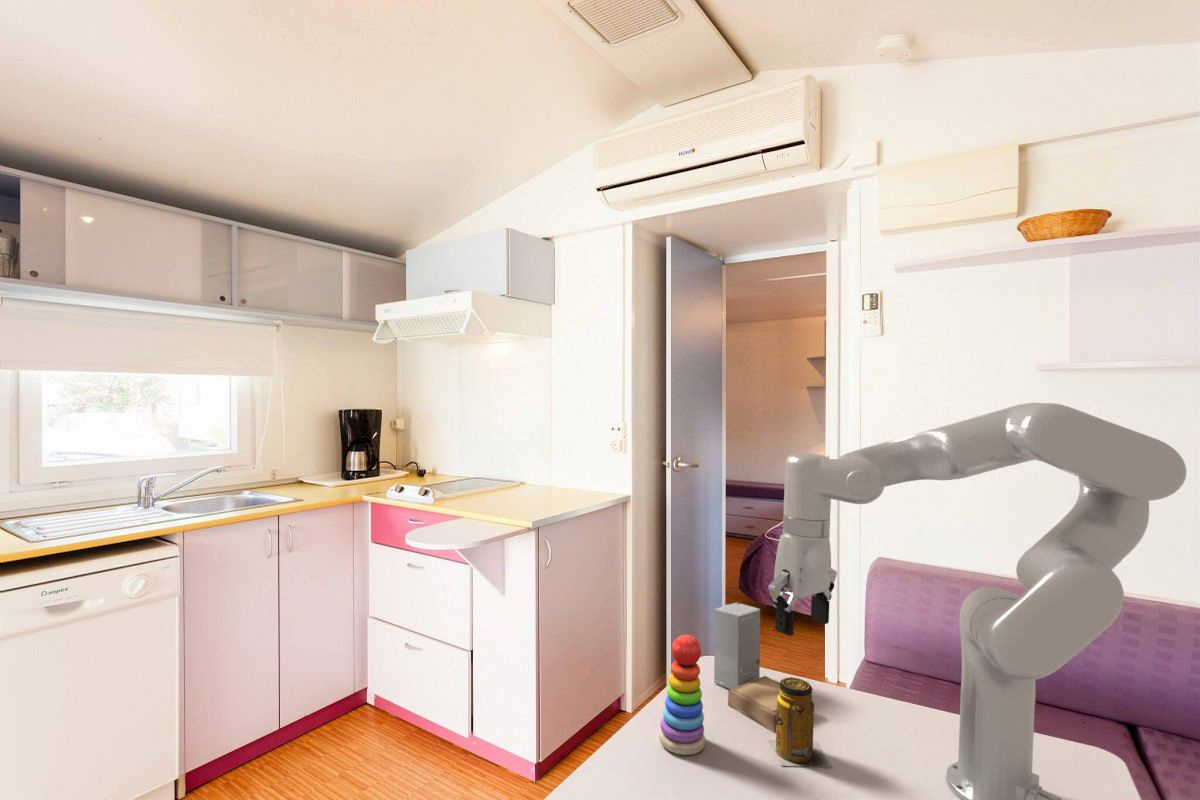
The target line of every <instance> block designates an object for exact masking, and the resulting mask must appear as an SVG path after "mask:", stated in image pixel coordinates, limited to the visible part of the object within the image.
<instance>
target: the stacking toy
mask: <svg viewBox="0 0 1200 800" xmlns="http://www.w3.org/2000/svg"><path fill="white" fill-rule="evenodd" d="M671 654H672V657H673V659H674V662H672V664H671V666H670V671H671V673H670V674H669V676H668V683H669V685H668V686H667V687H666V688H667V689H666V693H667V696H666V697H665V699H664V700H665V701H664V704H665V705H664V706H665V707H664V709H663V717H662V718H661V720H660V731H659V734H658V739H659V743H660V744H661V745H662V746H663V747H664V748H665V749H666V750H667V751H669V752H671V753H672V754H676V755H680V756H690V755H691V756H692V755H695V754H698V753H699V752H701V751H702V750H703V749H704V747H705V745H706V736H705V734H704V732H705V725H704V724H703V723H704V720H705V716H704V715H705V714H704V712H703V709H704V704H703V701H702V695H703V693H702V691H703V690H702V689H701V687H700V686H701V679H700V677H699V676H700V674H701V668H700V666H699V664H698V663H697V662H699V659H700V658H701V654H702V647H701V645H700V642H699V641H698V639H697V638H696V637H694V636H692V635H690V634H681V635H679V636H677V637H676V638H675V639H674V640H673V642H672V645H671Z"/></svg>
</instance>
